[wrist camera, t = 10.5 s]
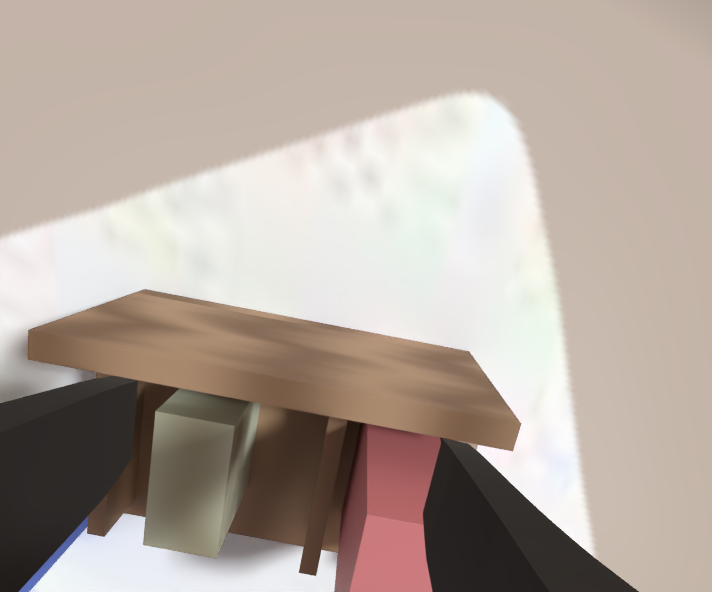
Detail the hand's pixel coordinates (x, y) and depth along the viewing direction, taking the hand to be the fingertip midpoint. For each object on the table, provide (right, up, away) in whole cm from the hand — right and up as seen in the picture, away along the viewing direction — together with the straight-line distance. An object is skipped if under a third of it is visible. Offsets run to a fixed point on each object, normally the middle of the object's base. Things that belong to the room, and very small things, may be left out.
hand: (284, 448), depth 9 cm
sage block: (-5, -3, +11) cm, 12 cm away
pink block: (+3, -5, +11) cm, 12 cm away
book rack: (-2, -3, +11) cm, 12 cm away
